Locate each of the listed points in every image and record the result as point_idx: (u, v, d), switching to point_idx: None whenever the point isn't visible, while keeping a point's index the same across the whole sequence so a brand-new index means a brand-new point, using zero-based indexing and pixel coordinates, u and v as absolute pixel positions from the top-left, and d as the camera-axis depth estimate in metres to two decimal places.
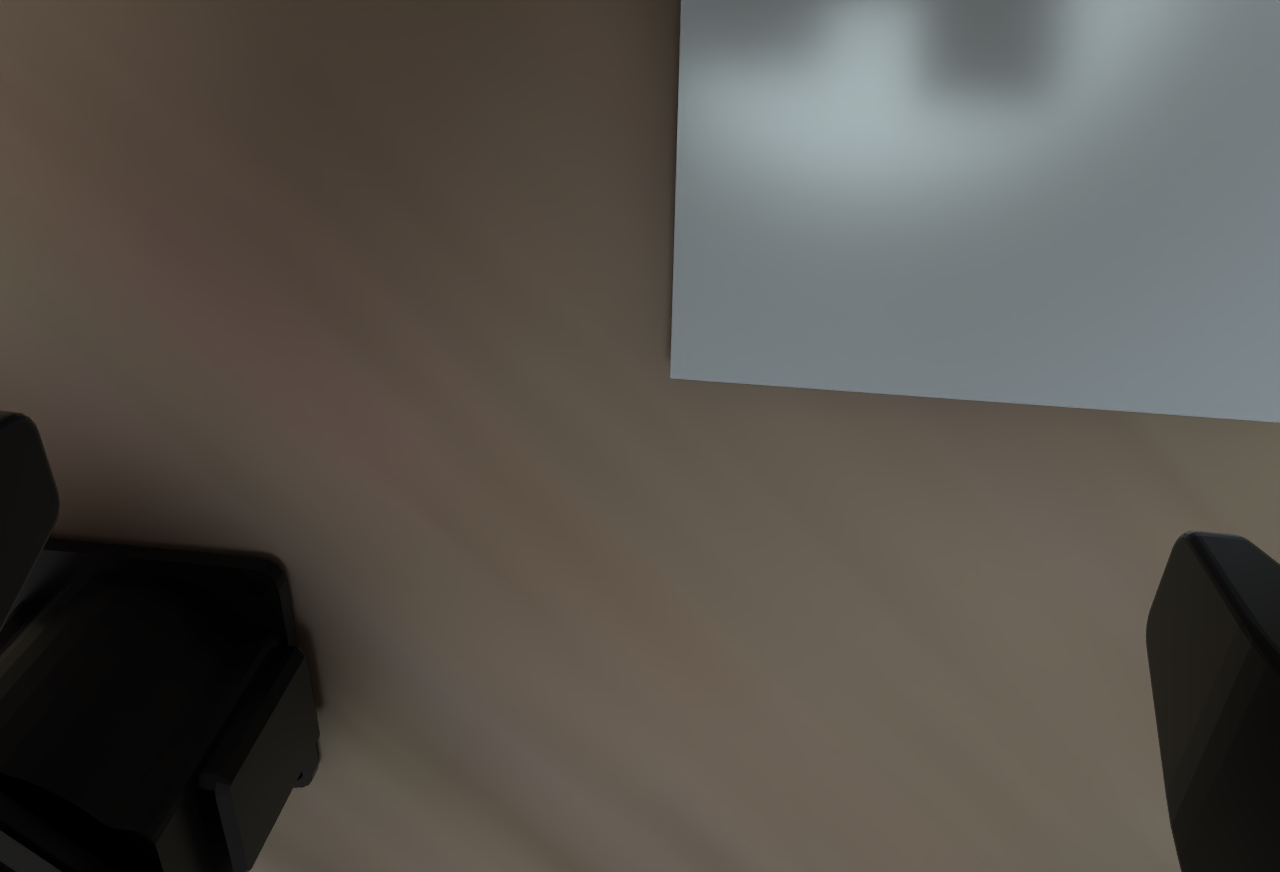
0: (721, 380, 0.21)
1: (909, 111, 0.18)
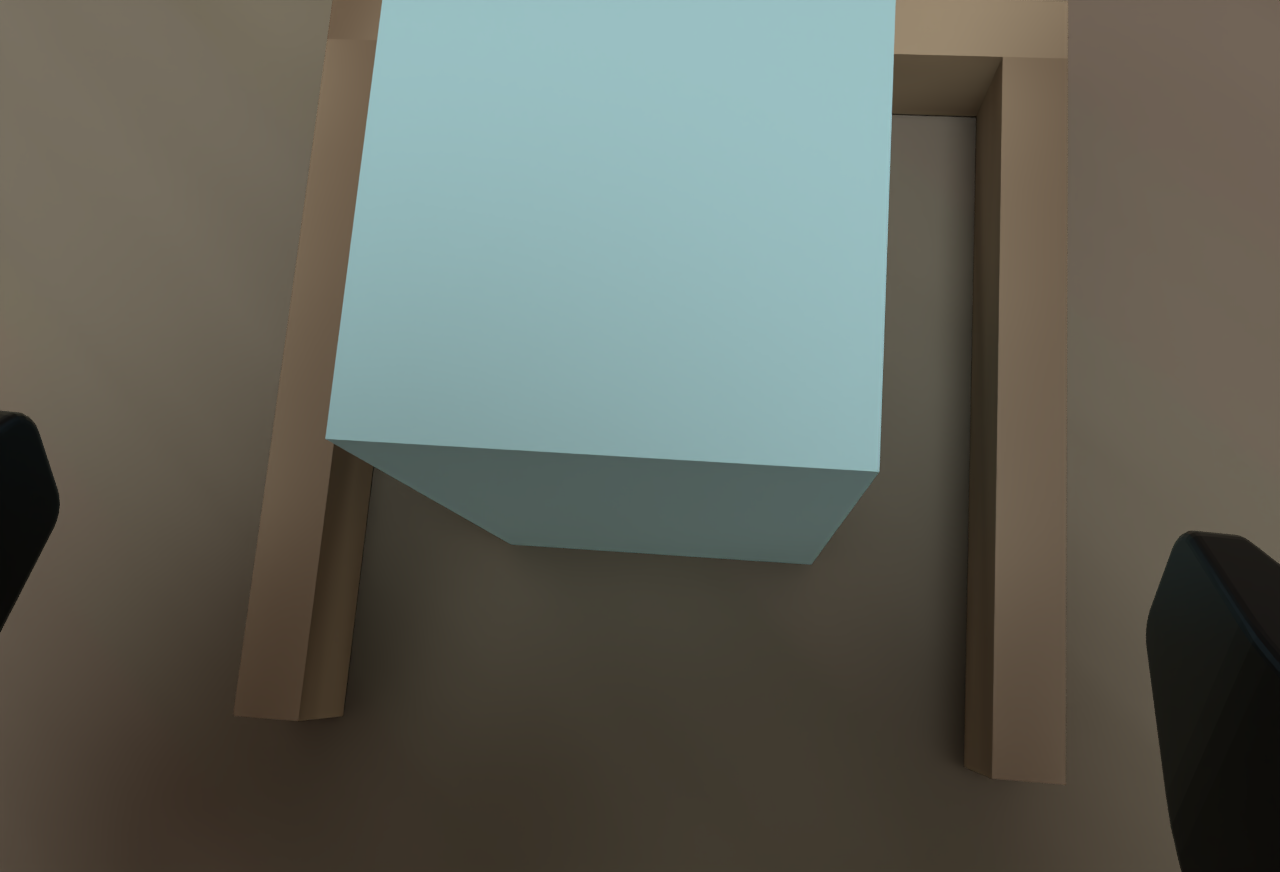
0: None
1: None
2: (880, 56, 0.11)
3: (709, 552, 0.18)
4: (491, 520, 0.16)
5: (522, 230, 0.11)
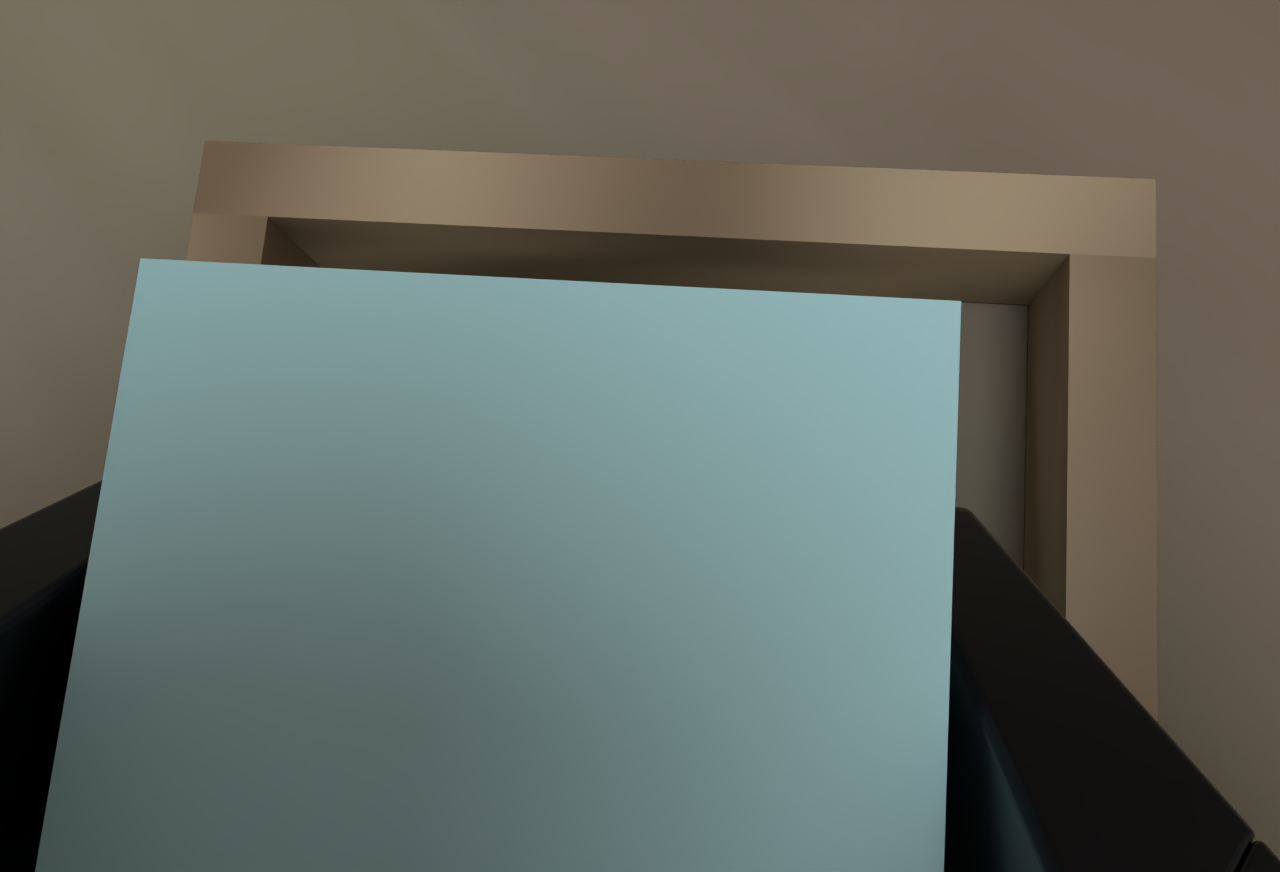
0: None
1: None
2: (933, 474, 0.07)
3: None
4: None
5: (332, 768, 0.06)
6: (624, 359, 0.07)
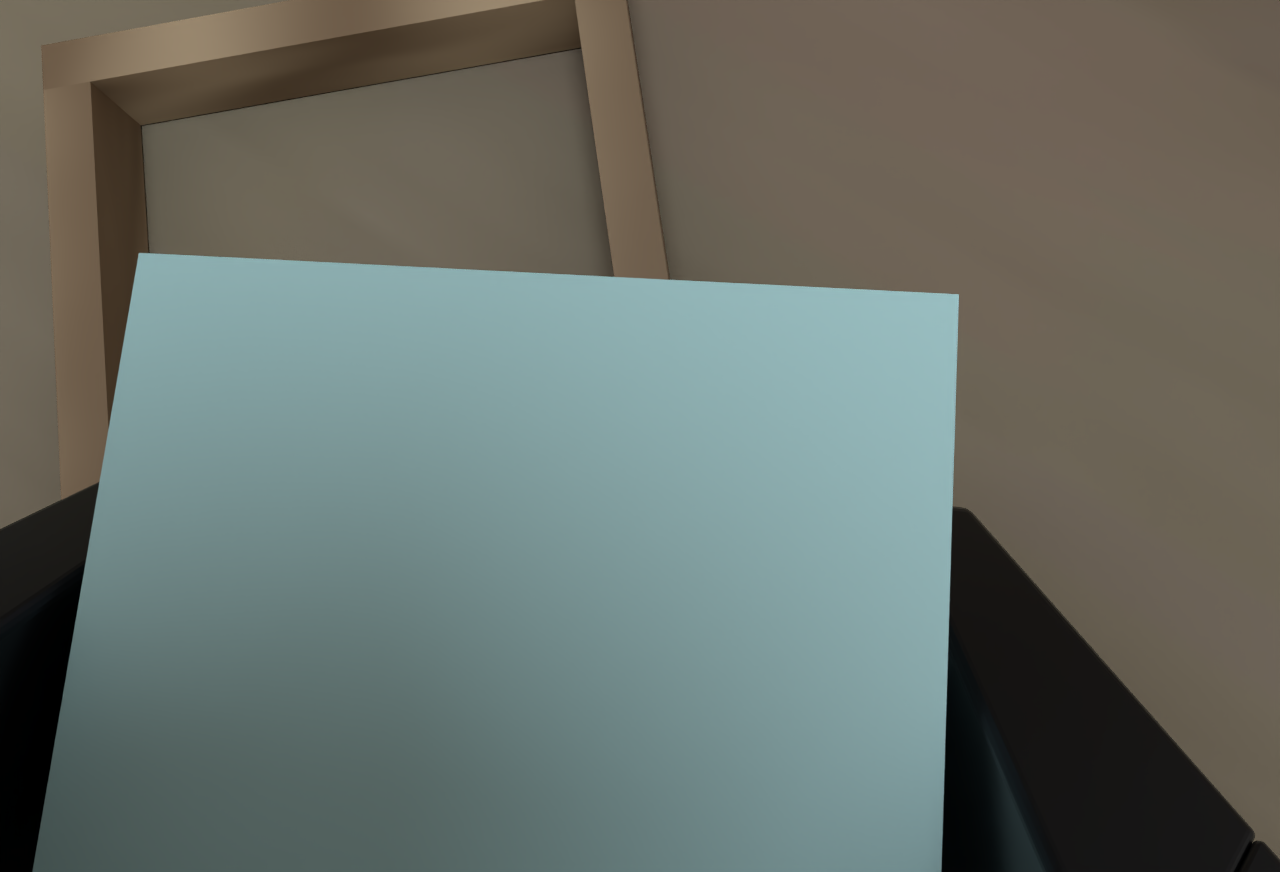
0: None
1: None
2: (930, 467, 0.07)
3: None
4: None
5: (329, 760, 0.06)
6: (623, 354, 0.07)
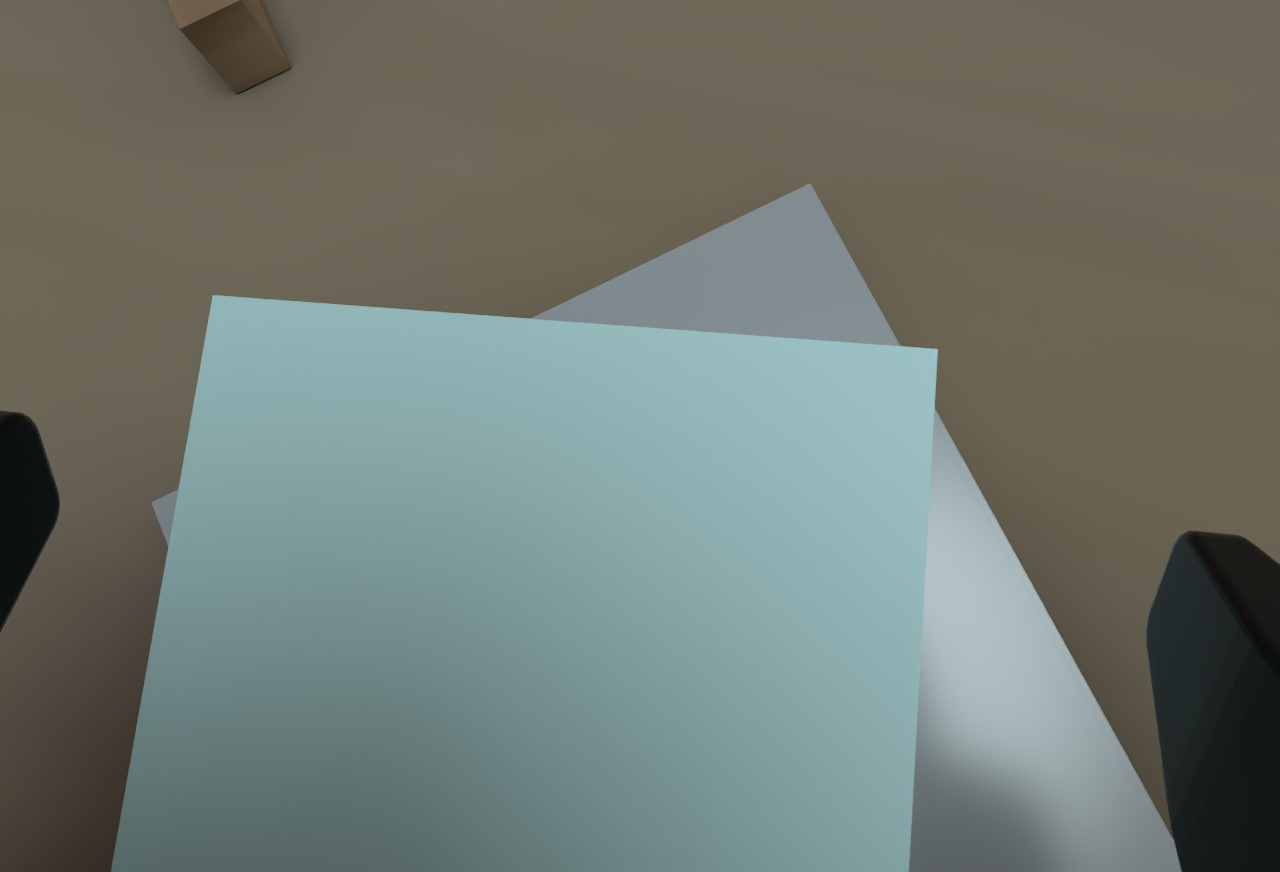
0: None
1: None
2: (909, 502, 0.07)
3: None
4: None
5: (379, 747, 0.07)
6: (641, 394, 0.08)
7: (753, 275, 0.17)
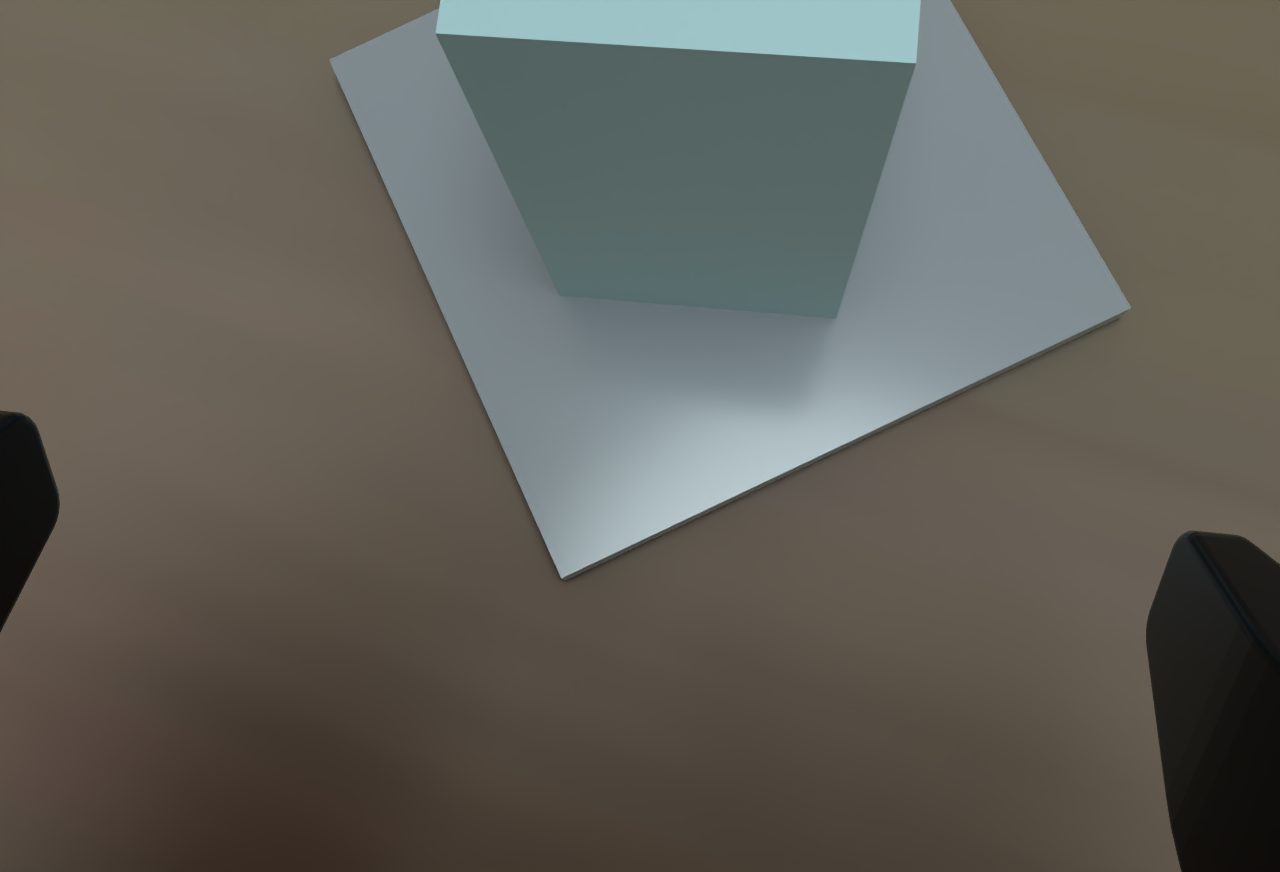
0: (608, 556, 0.20)
1: None
2: None
3: (744, 295, 0.20)
4: (551, 229, 0.18)
5: None
6: None
7: None
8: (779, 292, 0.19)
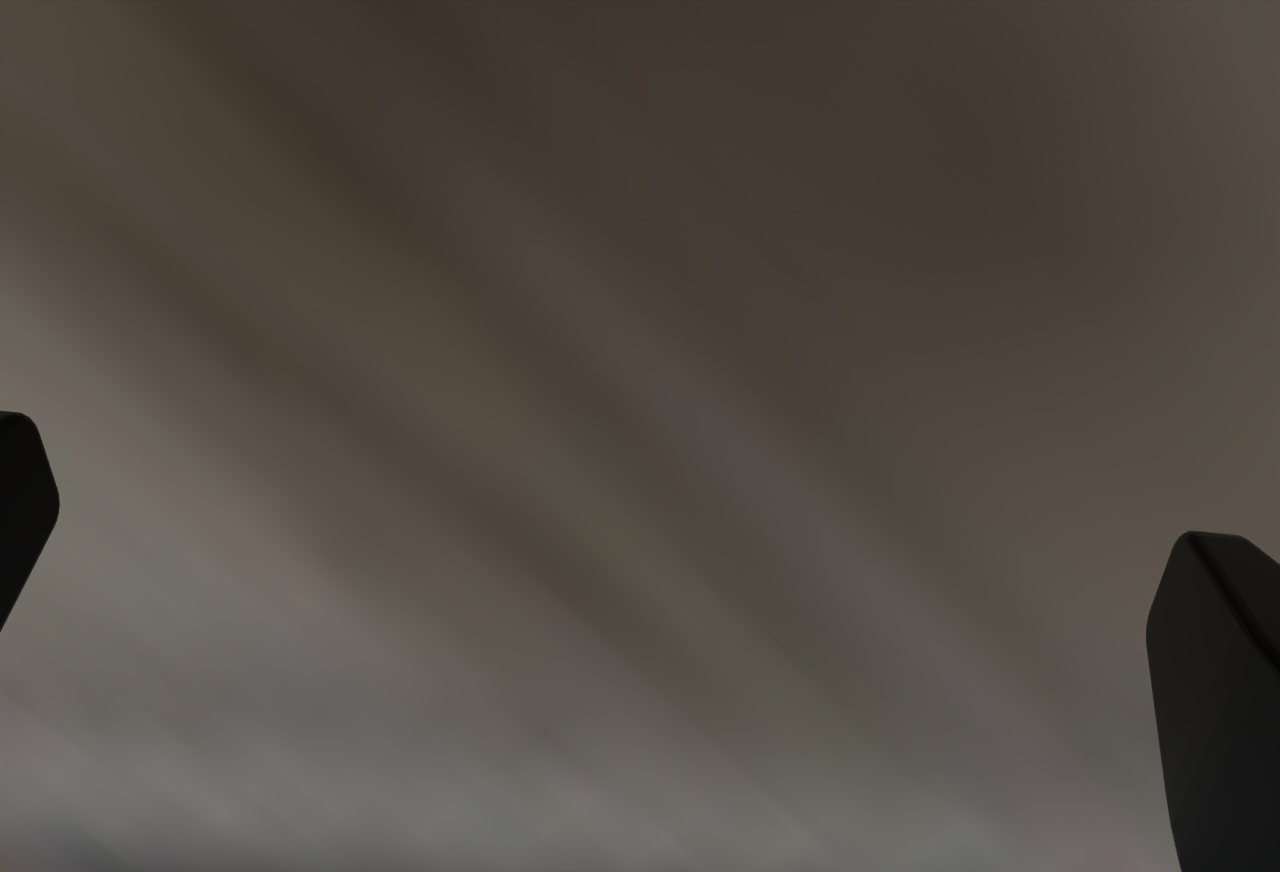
0: None
1: None
2: None
3: None
4: None
5: None
6: None
7: None
8: None
